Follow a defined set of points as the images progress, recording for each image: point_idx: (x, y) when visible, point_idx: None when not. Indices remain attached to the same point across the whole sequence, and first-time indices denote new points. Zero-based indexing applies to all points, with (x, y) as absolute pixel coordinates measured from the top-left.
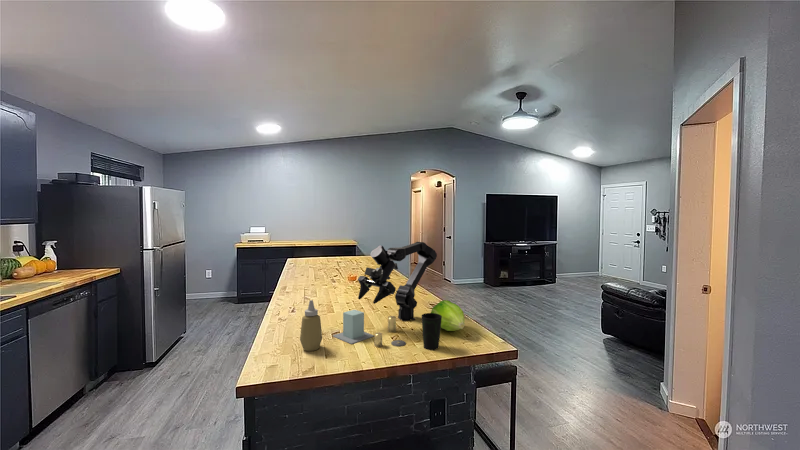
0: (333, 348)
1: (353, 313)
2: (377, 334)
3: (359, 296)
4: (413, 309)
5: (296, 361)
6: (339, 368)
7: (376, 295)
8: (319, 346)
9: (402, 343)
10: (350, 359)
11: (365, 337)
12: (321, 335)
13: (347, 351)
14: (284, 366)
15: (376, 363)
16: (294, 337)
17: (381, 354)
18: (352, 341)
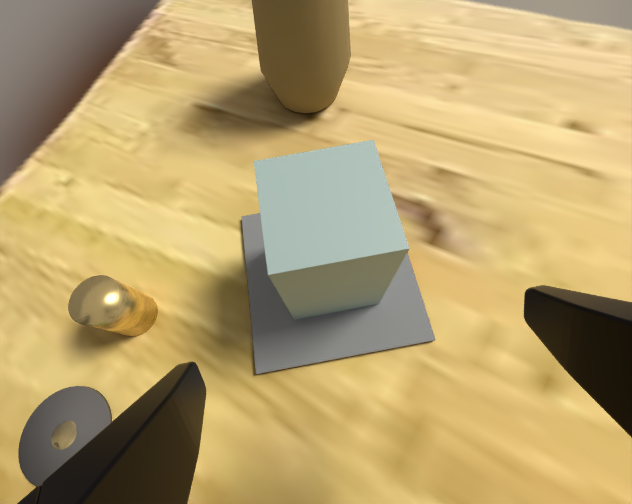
0: (254, 148)
1: (300, 188)
2: (92, 289)
3: (551, 298)
4: None
5: (238, 41)
6: (100, 109)
7: (106, 460)
8: (291, 108)
9: (36, 449)
10: (123, 157)
11: (261, 310)
12: (272, 68)
13: (190, 177)
14: (230, 16)
15: (19, 212)
16: (456, 78)
17: (55, 271)
18: (257, 230)
